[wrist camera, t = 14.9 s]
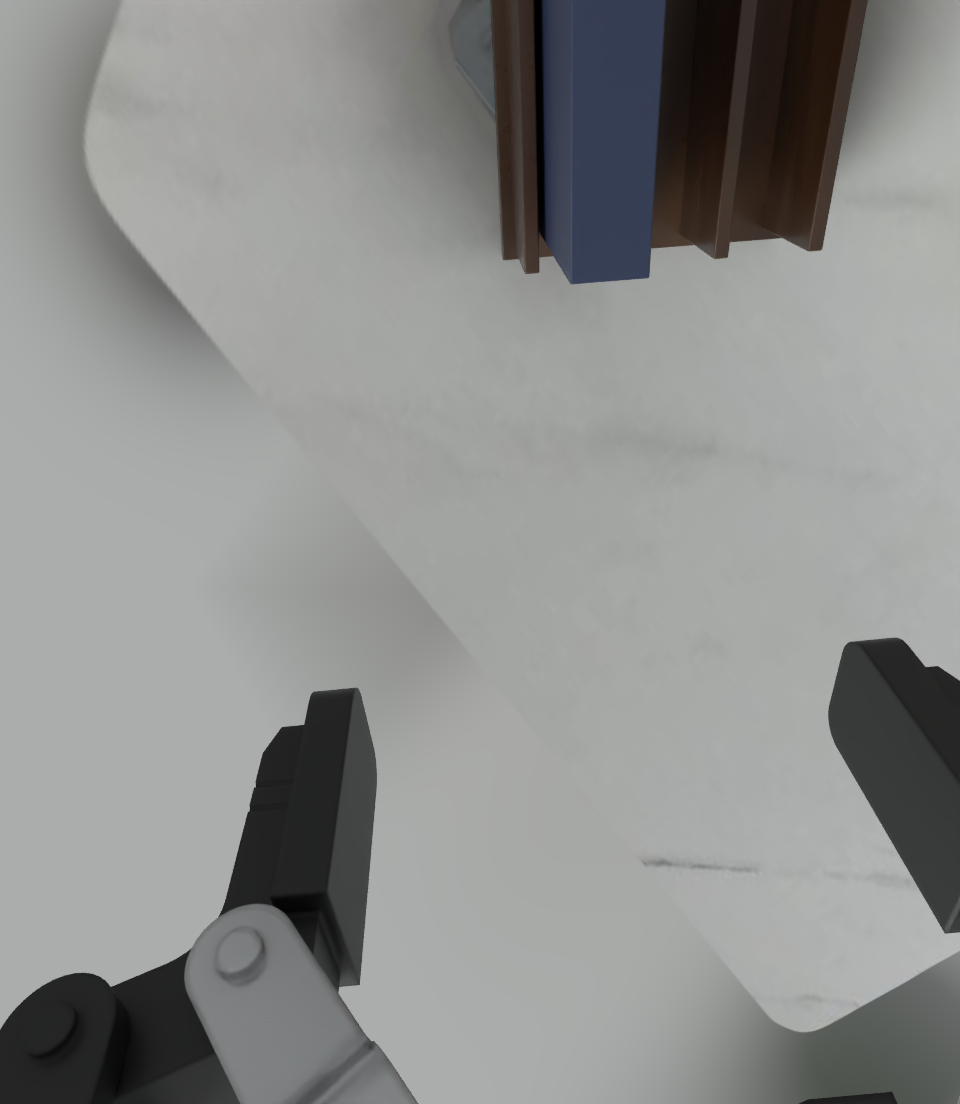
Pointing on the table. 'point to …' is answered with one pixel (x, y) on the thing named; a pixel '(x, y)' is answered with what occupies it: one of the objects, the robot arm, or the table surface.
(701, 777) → the table surface
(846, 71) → the book rack
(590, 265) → the navy book
